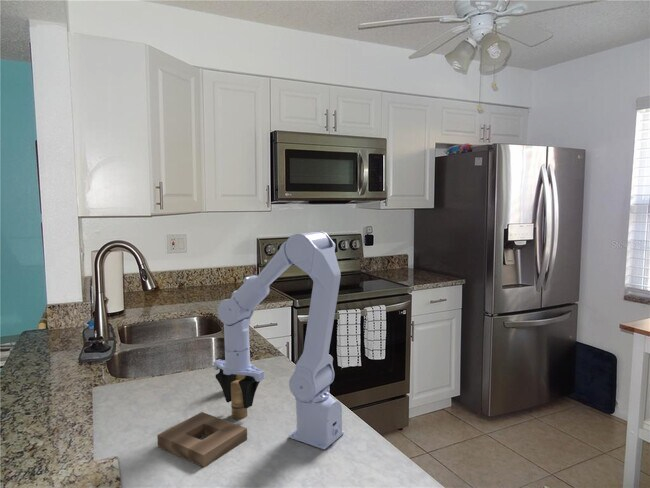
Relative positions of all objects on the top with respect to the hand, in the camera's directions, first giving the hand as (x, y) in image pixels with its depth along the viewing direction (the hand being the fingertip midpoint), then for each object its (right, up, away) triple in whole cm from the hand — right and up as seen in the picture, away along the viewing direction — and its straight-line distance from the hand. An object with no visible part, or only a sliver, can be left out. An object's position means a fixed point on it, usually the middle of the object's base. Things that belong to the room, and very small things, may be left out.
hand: (239, 403), depth 107 cm
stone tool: (-3, -2, +16) cm, 17 cm away
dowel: (0, -3, 0) cm, 3 cm away
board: (-5, -4, -12) cm, 13 cm away
